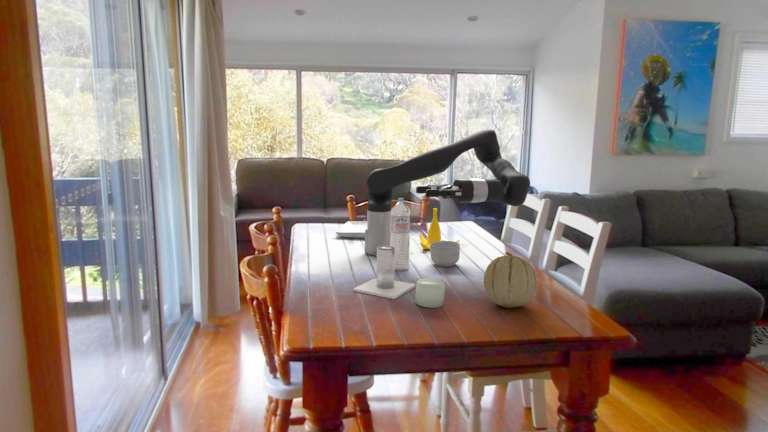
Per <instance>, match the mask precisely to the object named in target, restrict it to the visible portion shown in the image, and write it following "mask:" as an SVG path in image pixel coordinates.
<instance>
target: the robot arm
mask: <svg viewBox="0 0 768 432" xmlns="http://www.w3.org/2000/svg"><path fill="white" fill-rule="evenodd" d="M472 149H473V150H474V154H475V156H476V159H477V160H478V161H479V162H480V163H481V164H482V165H484V166H485V167H486V168H487V169H488V170H489V171H490V172H491V173H492V175H493V176H494V178H493V179H491V178H488V179H487V178H484V179H481V178H456V179H454V180H453V182H452V184H449V183H442V184H430V183H429V184H427V185H418V186H416V187H415V193H416V194H425V197H426V198H441V199H444V200H445V199H452V200H453V201H454V202H455V203H456V204H468V203H469V204H471V203H472V204H474V203H477V204H478V203H481V202H483V203H484V202H496V203H501V204H505V205H507V206H512V207H520V206H522V205H523V204H524V203H525V202H526V199H527V196H528V192H529V190H530V187H531V180H530V177H528V176H527V175H525V174H523V173H522V172H519V171H518V170H517V169H515V167H514V166H513V164H512V163H511V162H510V161H509V160H507V159H505V158H503V157H502V155H501V150H500V149H501V147H500V144H499V141H498V136H497V133H496V131H495V130H493V129H491V128H490V129H488V128H487V129H483V130H480V131H477V132H474V133H472V134H470V135H467V136H466V137H463V138H461V139H458V140H456V141H454V142H451V143H449V144H446V145H443V146H441V147H437V148H434V149H431V150H428V151H425V152H423V153H421V154H418V155H416V156H413V157H411V158H409V159H408V160H407V159H406V161H404V162H402V163H399V164H398V165H397V164H396V165H394V166H391V167H386V168H376V169H373V170H372V171H371V172H370V173H369V174H368V176H367V178H366V186H367V188H368V199H367V204H366V205H367V208H366V209H367V210H366V211H367V212H366V213H367V214H366V215H367V216H366V217H367V218H366V221H367V229H365V238H364V253H365V254H367V255H370V256H376V257H377V247H379V246H390V232H391V209H392V202H393V189H395V188H396V187H398V186H401V185H403V184H406V183H410V182H414V181H415V182H416V181H418V180H423V179H427V178H430V177H432V176H435V175H438V174H441V173H443V172H445V171H447V170H448V168H450V167H451V166H452V164H453V163H454V162H455V161H456V160H457V159H458V157H460V156H461V155H463V154H464V153H465V152H468V151H469V150H472ZM432 188H433V189H432Z"/></svg>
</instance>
